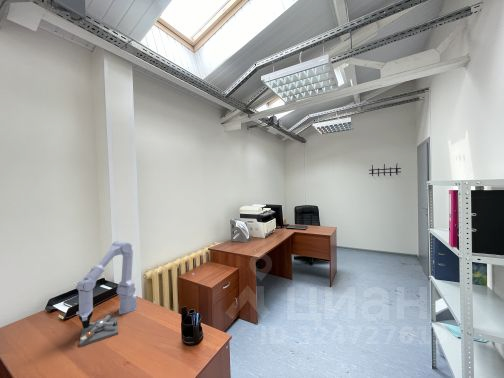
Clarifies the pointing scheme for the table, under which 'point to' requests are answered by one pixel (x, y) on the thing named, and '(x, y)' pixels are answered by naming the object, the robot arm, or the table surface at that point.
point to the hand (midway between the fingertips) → (86, 327)
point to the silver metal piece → (100, 325)
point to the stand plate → (99, 333)
